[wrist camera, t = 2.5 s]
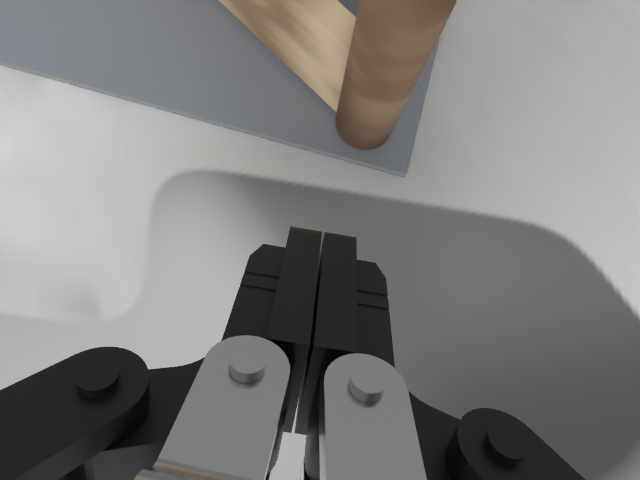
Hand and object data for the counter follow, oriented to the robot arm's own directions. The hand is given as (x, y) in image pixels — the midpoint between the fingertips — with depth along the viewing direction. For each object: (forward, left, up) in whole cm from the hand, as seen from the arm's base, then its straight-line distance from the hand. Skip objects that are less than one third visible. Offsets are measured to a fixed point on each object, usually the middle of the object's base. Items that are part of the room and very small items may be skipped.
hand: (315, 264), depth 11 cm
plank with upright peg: (+3, -11, -10) cm, 15 cm away
